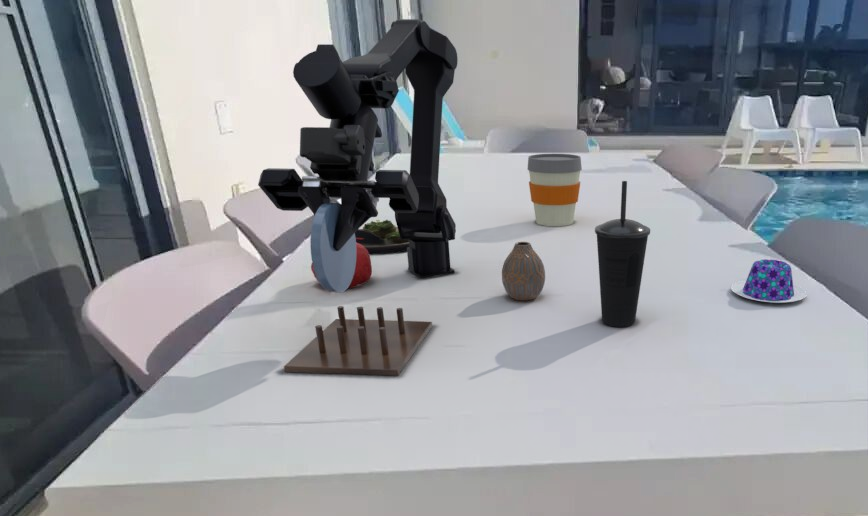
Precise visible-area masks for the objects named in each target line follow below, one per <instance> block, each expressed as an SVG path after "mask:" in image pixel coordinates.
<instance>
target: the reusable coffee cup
mask: <svg viewBox="0 0 868 516" xmlns="http://www.w3.org/2000/svg"><path fill="white" fill-rule="evenodd" d="M527 158H528V159H527V171H528V173H529V181H528V187H529V193H530V198H531V199H530V201H531V203H533V209H534V217H535V223H536V224H537V225H540V226H543V227H566V226H570V225H572V224H574V220H575V212H576V204H577V203H578V201H579V195H580V187H581V181H580V175H581V171H582V159H581V156H580V155H576V154H571V153H570V154H569V153H538V154H531V155H529V156H528V157H527Z"/></svg>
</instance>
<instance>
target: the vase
mask: <svg viewBox="0 0 868 516" xmlns="http://www.w3.org/2000/svg"><path fill="white" fill-rule="evenodd" d="M501 281H502V285H503V288H504V290H505V292H506V294H507V295H508V296H510V298H511V299H513V300H515V301H523V302H524V301H526V302H527V301H533V300H535V299H536V298H537V297H539V295H540V294H541V293H542V291H543V289H544V286H545V283H546V269H545V266H544V263H543V261H542V259H541V257H540V256H539V255H538V253H537V252H536V251H535V250H534V248H533V246H532V244H531V242H528V241H518V242H515V243H514V246H513V247H512V249H511V251H510V253H509V254H508V255H507V257H506V258H505V260H504V261H503V264H502V268H501Z"/></svg>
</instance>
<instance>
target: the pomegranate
mask: <svg viewBox="0 0 868 516" xmlns="http://www.w3.org/2000/svg"><path fill="white" fill-rule="evenodd" d="M356 239H364V238H356ZM370 255H371V254H369V252H368V250H367V249H366V248H365V247H364V246H362V245H361V244H359V243H357V242H356V266H355V272H354V276H353V279H352V281H351V283H350V285H349V287H348V288H347V289H350V288H357V287H359V286H360V285H363V284H365V283H367V282H368V281H369V280H370V279H371V277H372V274H373V268H372V267H373V266H372V260H371V256H370ZM310 269H311V272H312V274H313V277H314V278H315V279H316V281H317V282H318V283H319V281H318V279H317V277H316V274H315V271H314V267H313V263H312V262H311V264H310Z"/></svg>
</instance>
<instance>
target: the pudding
mask: <svg viewBox="0 0 868 516" xmlns="http://www.w3.org/2000/svg"><path fill="white" fill-rule="evenodd" d="M730 290H731V291H732V292H733V293H735V294H736V295H738V296H739V297H740V296H741V297H743V298H745V299H748V300H753V301H757V302H763V303H776V304H778V303H782V304H783V303H793V302H798V301H801V300H803V299H805V298H806V297H807V295H808V294H807V291H806V290H805V289H804V288H802V287H801V286H799V285H797V284H794V281H793V271H792V267H791V265H790V264H789V263H787V262H785V261H782V260H777V259H760V260H756V261H754V262H753V263H752V265H751V267H750V269H749V273H748V275H747V278H746V279H742V280H738V281H735V282H733V283H732V284H731V285H730Z"/></svg>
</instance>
